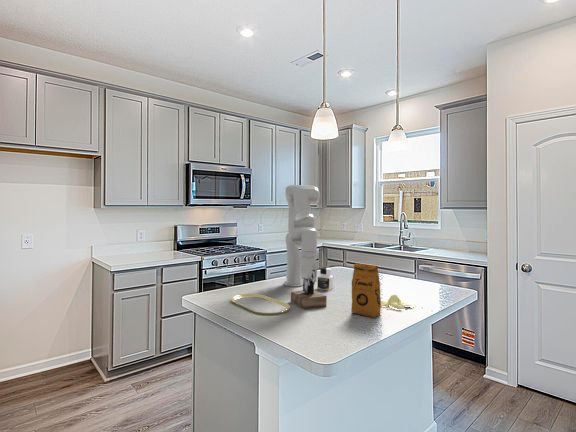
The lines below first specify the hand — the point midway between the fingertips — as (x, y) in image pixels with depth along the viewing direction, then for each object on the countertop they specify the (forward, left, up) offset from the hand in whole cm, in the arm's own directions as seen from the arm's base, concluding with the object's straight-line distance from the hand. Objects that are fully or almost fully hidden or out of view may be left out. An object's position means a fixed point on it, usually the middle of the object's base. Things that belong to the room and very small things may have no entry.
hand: (308, 291), depth 167 cm
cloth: (+20, +36, -7) cm, 42 cm away
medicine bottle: (-24, +24, -6) cm, 34 cm away
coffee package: (+24, +16, -6) cm, 30 cm away
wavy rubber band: (-7, -22, -6) cm, 24 cm away
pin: (0, 0, -3) cm, 3 cm away
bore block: (0, 0, -6) cm, 6 cm away
